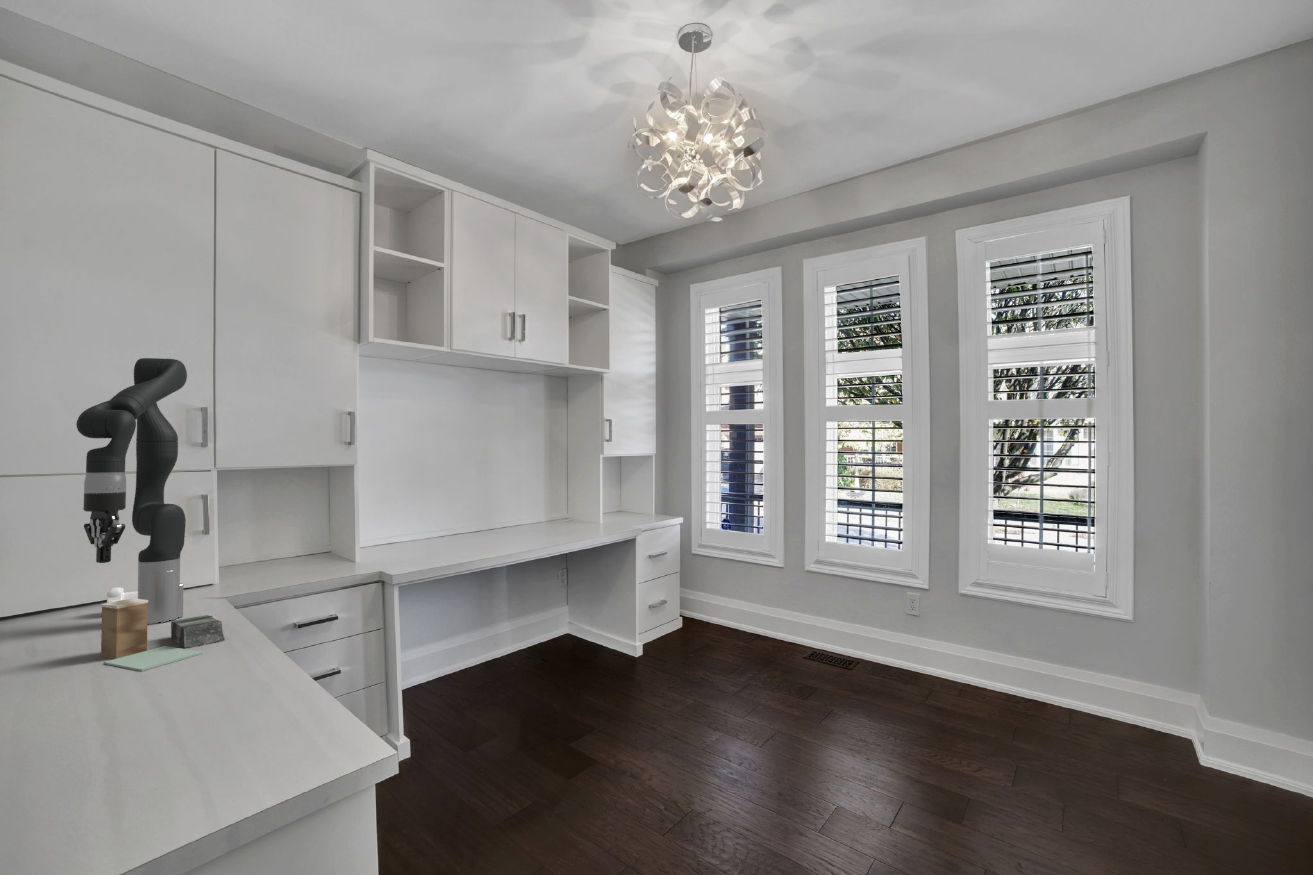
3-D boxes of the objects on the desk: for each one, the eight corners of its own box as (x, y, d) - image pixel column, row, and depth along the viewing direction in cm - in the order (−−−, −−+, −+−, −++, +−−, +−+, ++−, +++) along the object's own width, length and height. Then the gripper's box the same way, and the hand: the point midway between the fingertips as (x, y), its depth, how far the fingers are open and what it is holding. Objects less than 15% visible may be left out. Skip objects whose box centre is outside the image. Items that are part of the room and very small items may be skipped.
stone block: (213, 631, 157) (213, 611, 158) (228, 641, 148) (228, 620, 148) (170, 639, 151) (171, 618, 151) (183, 650, 141) (184, 628, 141)
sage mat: (165, 647, 143) (165, 645, 143) (202, 653, 138) (202, 652, 138) (103, 663, 132) (103, 661, 132) (141, 671, 126) (141, 669, 126)
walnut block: (131, 648, 143) (132, 598, 143) (147, 650, 140) (148, 600, 141) (100, 656, 137) (101, 604, 137) (116, 659, 135) (117, 606, 135)
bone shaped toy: (105, 620, 171) (105, 592, 171) (110, 611, 178) (110, 585, 178) (171, 611, 180) (172, 585, 180) (173, 603, 187) (173, 578, 187)
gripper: (139, 490, 145) (138, 561, 144) (108, 490, 149) (106, 558, 149) (101, 492, 138) (99, 566, 137) (70, 491, 142) (68, 563, 142)
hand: (103, 562), depth 143 cm, fingers closed
